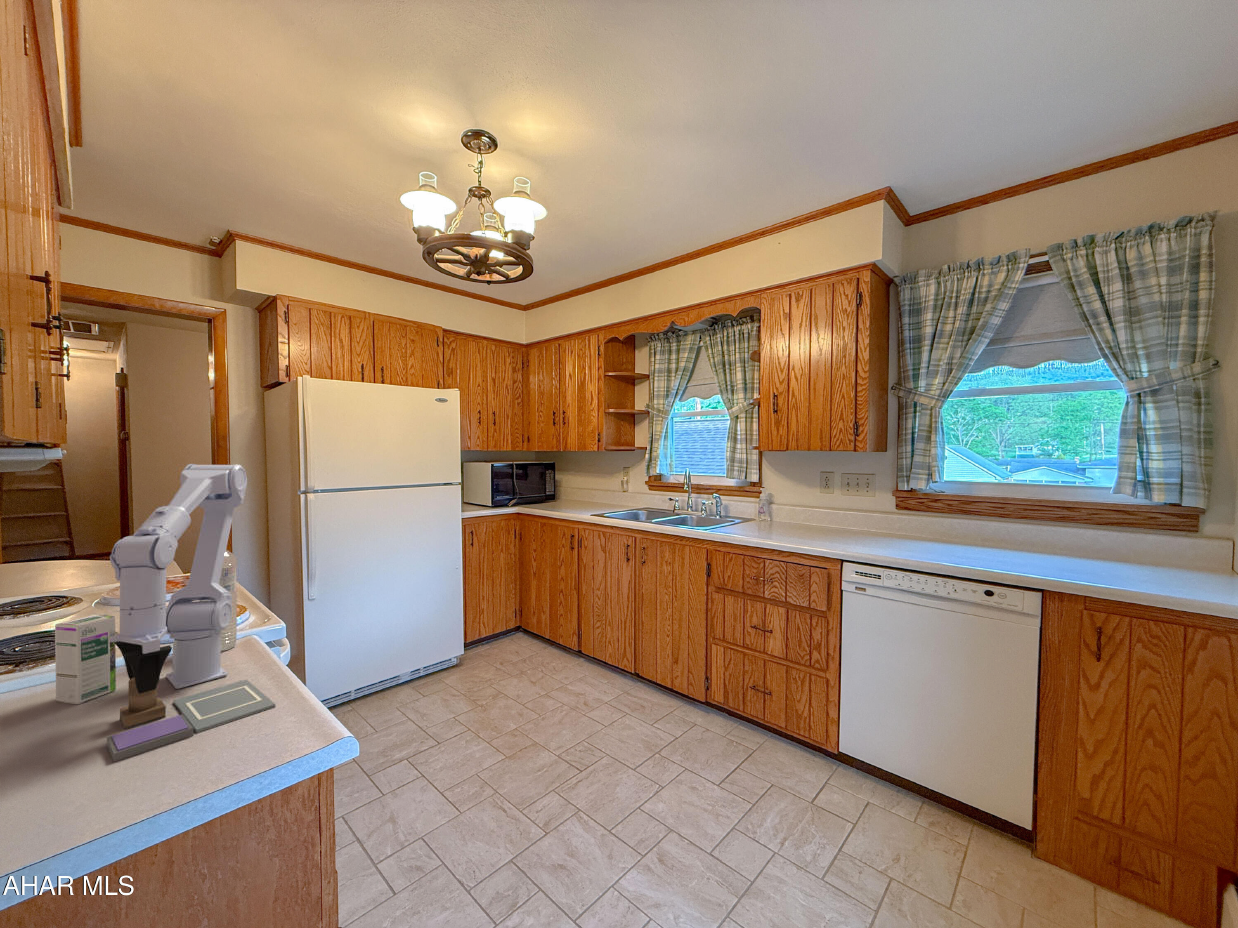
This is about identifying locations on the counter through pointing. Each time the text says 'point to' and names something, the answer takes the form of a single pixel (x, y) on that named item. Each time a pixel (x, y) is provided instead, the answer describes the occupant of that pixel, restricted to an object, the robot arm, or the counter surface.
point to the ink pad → (148, 737)
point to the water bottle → (230, 585)
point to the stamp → (141, 707)
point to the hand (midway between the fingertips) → (142, 684)
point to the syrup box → (85, 658)
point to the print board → (222, 705)
